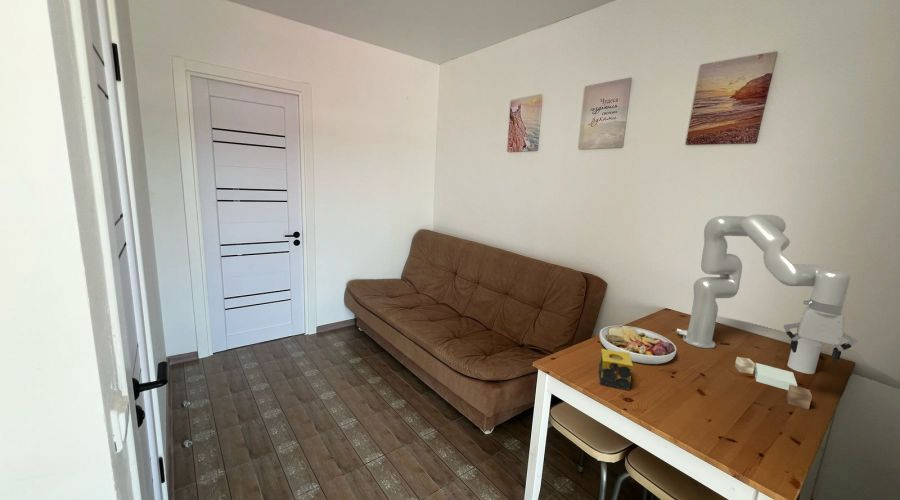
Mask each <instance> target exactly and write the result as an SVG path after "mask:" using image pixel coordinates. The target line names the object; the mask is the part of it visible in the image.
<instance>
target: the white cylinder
mask: <svg viewBox="0 0 900 500" xmlns="http://www.w3.org/2000/svg"><path fill="white" fill-rule="evenodd" d="M797 341H798V345H797V350H796V352H795V353H794V352H793V351H792V349H791V348H790V349H791V350H790V354H789V357H788V362H787V367H788V368H790V369H791V370H794V371H796V372H799V373H802V374H806V375H807V374H808V375H813V374H815V373H816V369H817V366H818V362H819V358H820V354H821V351H822V347H823V343H822V342H817V341H813V340H808V339H804V338H801V339H799V340H797Z"/></svg>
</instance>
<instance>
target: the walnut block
mask: <svg viewBox="0 0 900 500" xmlns="http://www.w3.org/2000/svg"><path fill="white" fill-rule="evenodd" d="M812 397H813V396H812V393H811V390H810V389H807V388H804V387H801V386H798V385H797V386H794V385H789V389H788V390H787V393H786V400H787V404H788V405H792V406H795V407H799V408H802V409H805V410H807V411H808V410H809V409H810V405H811V401H812Z"/></svg>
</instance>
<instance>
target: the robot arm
mask: <svg viewBox="0 0 900 500" xmlns="http://www.w3.org/2000/svg"><path fill="white" fill-rule="evenodd" d="M785 230H786V221H784V219H783V218H782V217H780V216H778V215H776V214H775V215H774V214H751V215H748V216H737V215H721V216H715V217H713V218H711V219H709V220H708V222H706V224H705V226H704V229H703V231H704V232H703V249H702V255H701V261H700V267H701V271H702V272H703V273H704V274H706V275H713V276H705V277H700V278H698V279H696V280H695V281H694V283H693V301H692V302H693V303H692V308H691V314H690V318H689V323H688V328H687V329H682V328H676V333H677V334H678V335H681V336H682V340H683V341H684V342H685V343H687V345H688V344H689V345H691V346H693V347H698V348H701V349H714V348H715V347H716V343H715V341H714V340H713V337H714V333H715V327H716V321H717V318H718V312H719V306H718V303H717V300H716V299H730V298H734V297H735V296H736V295H737V294H738V293H739V289H740V284H741V278H742V272H743V271H742V270H743V263H742V260H741V259H740V257H739V256H738V255H736V254H733V253H727V251H728V247H729V246H728V241H727V239H726V237H748V238H750V240H752V242H753V243H754V244H755V245H756V246H757V247H758V248H759V249H760V250H761V252H763V258H762V259H763V264H764V265H765V269H767V271H769V273H770V274H771V275H772V276H773V278H775V279H776V280H777V281H778V282H779V283H781V284H783V285H785V286H788V287H812V292H811V296H810V299H809V300H803V305H806V306H807V307H805V309H804V311H802V314H801V317H800V319H799V322H797V323H796V322H795V323H788V324H784V325H783V328H784V330H785V333H786V335H787V336H788V337H789V338H790V339H791V342H790V344H789V345H790V346H789V348H790V349H792V351H793V352H794V353H795V352H796V350H797V345H798V341H797V340H799V339H801V338H804V339H808V340H813V341H817V342H819V343H821V344H827V345H831V346H833V345H834V346H835V347H833V348H832V349H833V350H832V353H831V360H832V362H834V363H837V360H840V358H841V355H842V352H844V351H845V350H849V349H851V348H852V347H853V346H854V345H856V344H857V343H858V340H857V339H856V338H855V337H852V336H851V335H849V334H847V333H846V332H845V331H844V330H845V321H846V319H845V317H846V316H845V315H844V314H843V313H842V312H843V309H844V308H843V307H844V304H845V300H846V296H847V293H848V289H849V287H850V286H849V285H850V282H851V275H850V274H849V273H847V272H845V271H841V270H840V271H839V270H834V269H830V268H827V267H824V266H823V265H822V266H821V265H818V264H806V263H805V264H802V263H797V264H796V263H795V264H794V263H792V262H791V261H790V260H789V259H788V258H787V257H786V256H785V255H784V254H783V251H785V250H786V249H787V248H788V247H789V246H790V243H791V242H790V241H791V240H790V238H789V237H787V235H785V234H784V232H785ZM714 275H716V276H714ZM718 275H719V277H718ZM792 329H797V330H796V333H793V332H792V331H791V330H792ZM843 338H844V339H846V340H847V342H845V343H842V341H843Z"/></svg>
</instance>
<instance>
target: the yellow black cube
mask: <svg viewBox="0 0 900 500" xmlns="http://www.w3.org/2000/svg"><path fill="white" fill-rule="evenodd" d="M633 366H634V365H633V361H631V358H630V353H625V352H618V351H612V350H608V349H606V348H601V350H600V359H599V365H598V380H600V381H599V385H600V384H601V385H600V386H603V385H604V387H608V388H609V387H610V388H613V387H614V389H620V390H624V391H630V389H631V383H632V381H631V380H632V378H631V377H632V373H633Z"/></svg>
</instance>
